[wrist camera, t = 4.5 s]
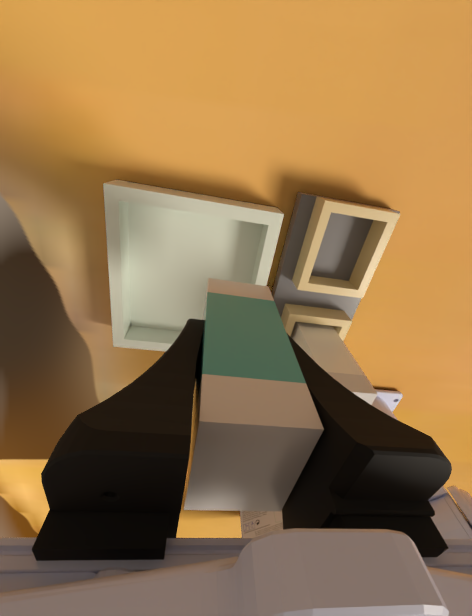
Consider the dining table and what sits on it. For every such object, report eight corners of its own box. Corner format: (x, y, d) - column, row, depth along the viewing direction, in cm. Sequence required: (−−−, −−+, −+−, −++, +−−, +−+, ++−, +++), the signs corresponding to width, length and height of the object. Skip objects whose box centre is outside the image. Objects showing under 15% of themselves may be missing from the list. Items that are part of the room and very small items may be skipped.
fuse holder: (326, 360, 26) (337, 379, 24) (255, 353, 25) (259, 373, 23) (391, 209, 19) (414, 216, 17) (298, 191, 18) (309, 197, 16)
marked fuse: (251, 349, 15) (280, 511, 8) (198, 343, 15) (184, 509, 8) (268, 286, 13) (323, 429, 7) (208, 278, 13) (199, 421, 6)
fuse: (313, 356, 24) (351, 437, 18) (281, 353, 24) (307, 435, 17) (328, 319, 22) (377, 394, 16) (293, 315, 22) (328, 390, 15)
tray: (245, 341, 24) (248, 359, 22) (122, 328, 23) (113, 346, 21) (276, 207, 19) (284, 214, 17) (116, 179, 17) (103, 183, 15)
